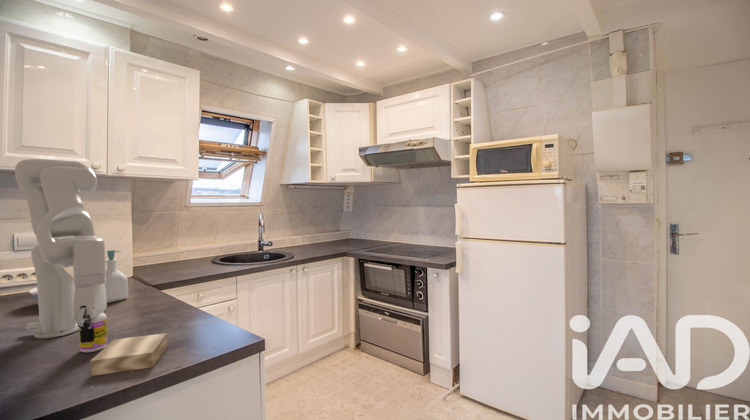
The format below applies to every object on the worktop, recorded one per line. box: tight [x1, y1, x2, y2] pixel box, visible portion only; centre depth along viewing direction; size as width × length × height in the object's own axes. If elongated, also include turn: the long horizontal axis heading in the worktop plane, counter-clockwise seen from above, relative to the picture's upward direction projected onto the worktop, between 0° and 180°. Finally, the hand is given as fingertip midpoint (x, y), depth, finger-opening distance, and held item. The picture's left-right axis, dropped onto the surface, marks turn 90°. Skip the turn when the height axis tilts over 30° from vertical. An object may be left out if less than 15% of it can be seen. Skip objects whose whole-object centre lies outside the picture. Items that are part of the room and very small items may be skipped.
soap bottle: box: [105, 249, 129, 304], centre depth 158 cm, size 10×10×23 cm
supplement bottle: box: [78, 306, 109, 353], centre depth 106 cm, size 7×7×13 cm
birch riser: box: [90, 332, 169, 377], centre depth 99 cm, size 14×14×4 cm
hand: (93, 336), depth 106 cm, fingers closed on supplement bottle, 6 cm apart
